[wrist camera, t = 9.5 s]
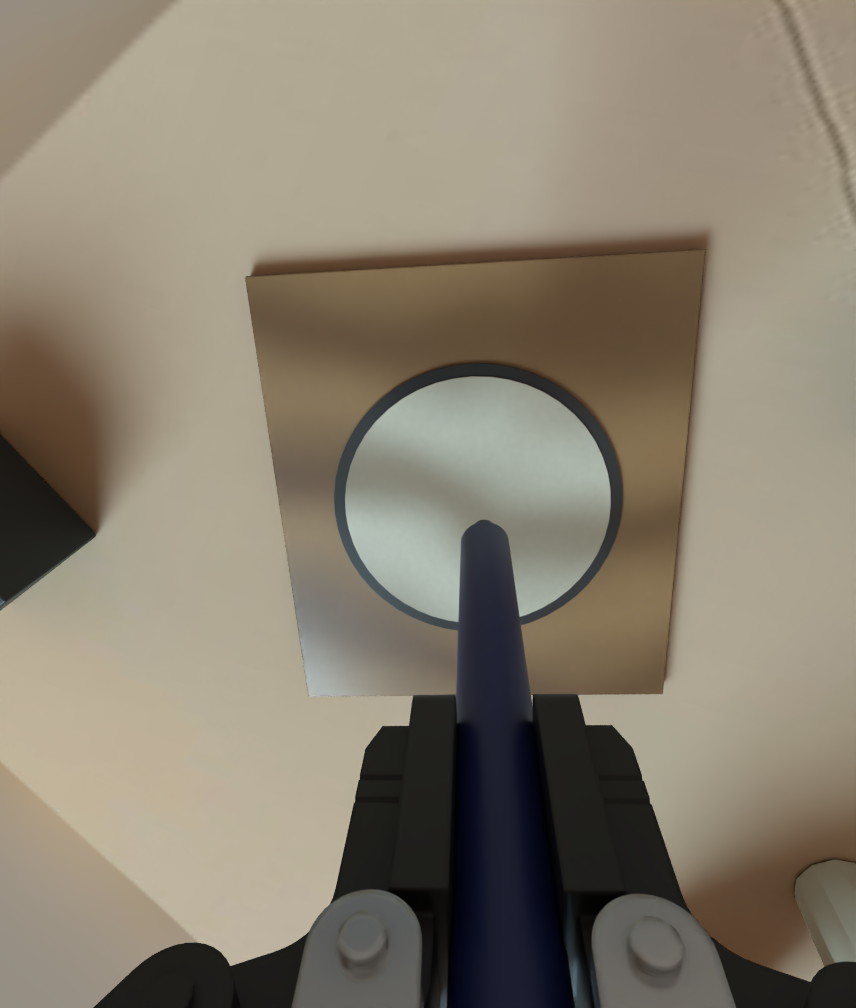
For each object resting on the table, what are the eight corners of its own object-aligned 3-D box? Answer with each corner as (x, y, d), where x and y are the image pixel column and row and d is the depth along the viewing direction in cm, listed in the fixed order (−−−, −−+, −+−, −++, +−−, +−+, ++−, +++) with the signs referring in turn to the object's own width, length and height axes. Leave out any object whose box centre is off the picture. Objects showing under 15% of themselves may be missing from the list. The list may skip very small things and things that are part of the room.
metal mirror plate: (248, 276, 20) (243, 276, 19) (701, 249, 19) (707, 248, 18) (310, 690, 26) (307, 699, 25) (660, 688, 25) (664, 696, 24)
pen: (460, 508, 19) (440, 1053, 6) (506, 507, 19) (590, 1060, 6) (462, 550, 19) (447, 1138, 6) (507, 549, 19) (586, 1144, 6)
